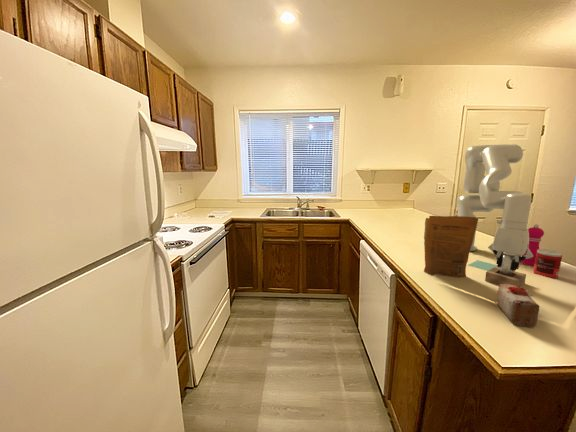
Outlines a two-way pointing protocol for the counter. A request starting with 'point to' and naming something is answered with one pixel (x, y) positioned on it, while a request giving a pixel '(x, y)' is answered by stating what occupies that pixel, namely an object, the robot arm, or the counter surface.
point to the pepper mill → (533, 244)
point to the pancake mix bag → (448, 244)
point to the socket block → (505, 277)
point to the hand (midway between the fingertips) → (506, 267)
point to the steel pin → (507, 264)
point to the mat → (482, 265)
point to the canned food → (547, 263)
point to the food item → (518, 305)
